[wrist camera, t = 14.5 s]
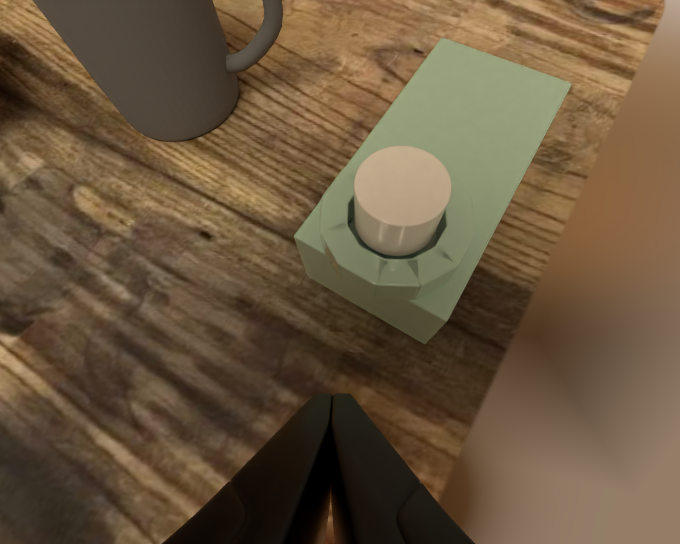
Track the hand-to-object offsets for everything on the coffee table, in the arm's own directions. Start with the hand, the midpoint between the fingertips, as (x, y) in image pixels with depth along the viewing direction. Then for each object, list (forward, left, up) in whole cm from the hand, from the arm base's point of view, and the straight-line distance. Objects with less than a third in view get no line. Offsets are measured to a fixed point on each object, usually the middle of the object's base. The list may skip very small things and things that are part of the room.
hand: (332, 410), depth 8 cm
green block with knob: (-6, -12, -11) cm, 18 cm away
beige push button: (-3, -8, -5) cm, 9 cm away
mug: (+8, -24, -11) cm, 28 cm away
